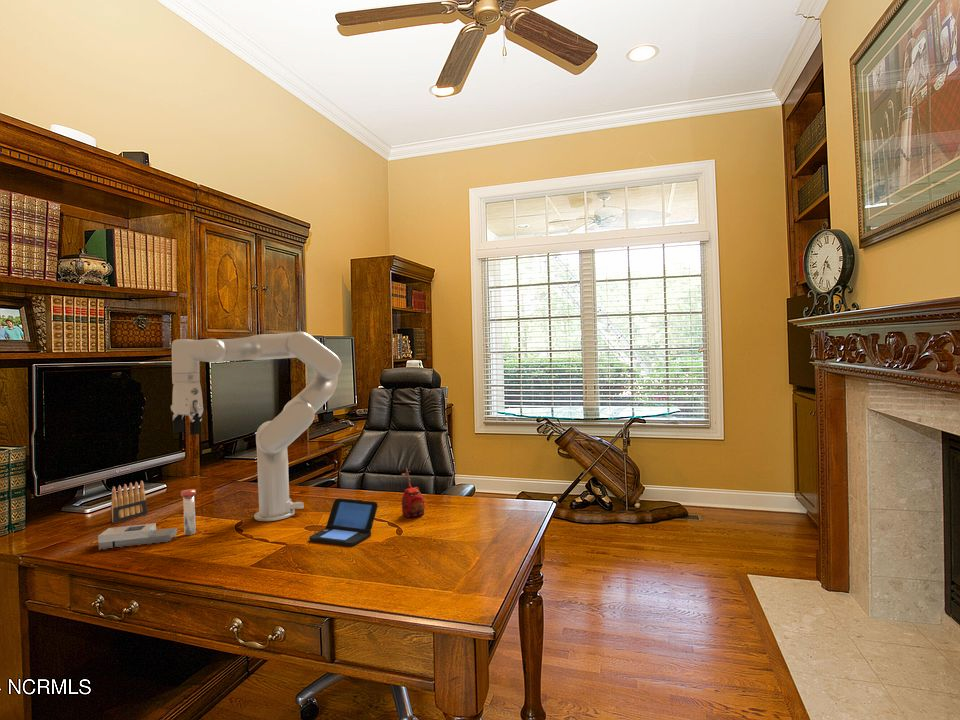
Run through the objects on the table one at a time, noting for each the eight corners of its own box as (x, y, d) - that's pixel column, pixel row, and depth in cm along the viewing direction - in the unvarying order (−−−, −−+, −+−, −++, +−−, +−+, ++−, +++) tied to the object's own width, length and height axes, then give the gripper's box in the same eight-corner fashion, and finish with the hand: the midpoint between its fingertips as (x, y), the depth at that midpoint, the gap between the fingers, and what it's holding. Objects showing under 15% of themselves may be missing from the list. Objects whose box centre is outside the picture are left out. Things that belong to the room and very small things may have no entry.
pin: (199, 531, 161) (197, 488, 161) (195, 535, 158) (194, 491, 157) (184, 532, 160) (183, 489, 160) (181, 537, 156) (179, 493, 156)
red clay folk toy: (409, 520, 166) (407, 472, 165) (397, 515, 171) (395, 469, 171) (428, 514, 171) (427, 468, 170) (416, 510, 176) (415, 465, 176)
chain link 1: (156, 536, 158) (155, 523, 158) (148, 544, 151) (147, 530, 151) (109, 541, 155) (108, 528, 155) (98, 549, 148) (98, 535, 148)
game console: (306, 542, 149) (305, 510, 149) (336, 527, 162) (335, 497, 162) (352, 548, 143) (351, 515, 143) (379, 531, 156) (378, 501, 156)
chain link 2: (177, 534, 159) (176, 527, 159) (169, 541, 153) (169, 535, 153) (124, 539, 156) (124, 533, 156) (114, 548, 149) (114, 541, 149)
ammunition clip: (113, 523, 172) (112, 487, 172) (110, 522, 173) (109, 486, 173) (147, 514, 182) (146, 479, 182) (144, 513, 183) (143, 479, 182)
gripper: (213, 378, 162) (214, 433, 162) (183, 378, 172) (184, 430, 172) (188, 379, 156) (189, 436, 156) (159, 379, 165) (160, 433, 165)
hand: (187, 433), depth 164 cm, fingers open, 9 cm apart
